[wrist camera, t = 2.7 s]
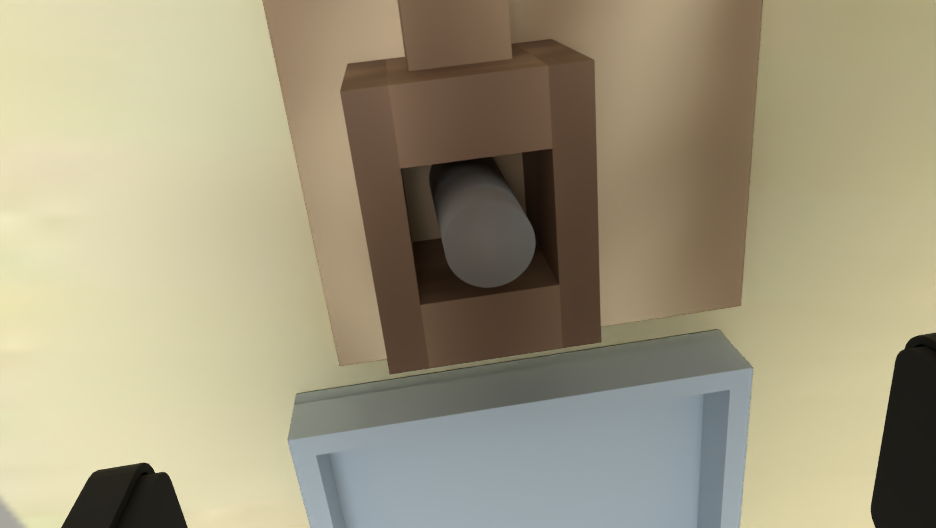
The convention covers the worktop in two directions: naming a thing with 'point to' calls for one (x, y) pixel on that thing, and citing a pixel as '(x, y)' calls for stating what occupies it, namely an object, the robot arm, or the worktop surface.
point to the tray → (535, 442)
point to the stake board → (501, 177)
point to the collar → (470, 137)
